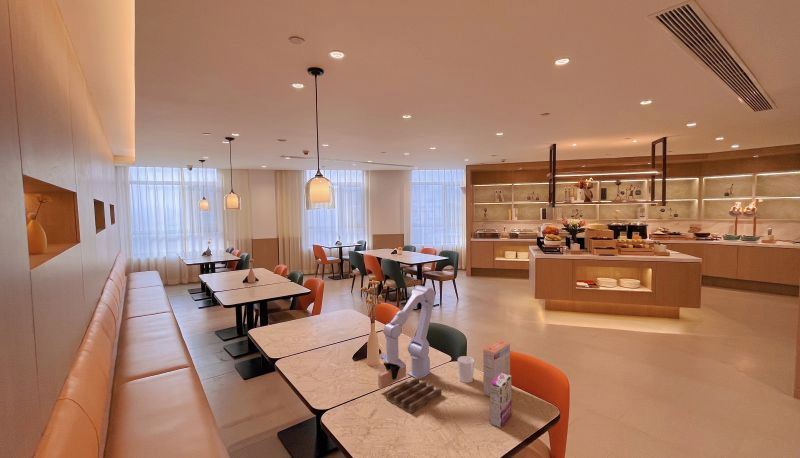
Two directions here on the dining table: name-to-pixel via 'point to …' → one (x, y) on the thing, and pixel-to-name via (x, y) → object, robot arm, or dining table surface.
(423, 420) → the dining table surface
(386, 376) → the clay strip
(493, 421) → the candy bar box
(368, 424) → the dining table surface
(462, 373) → the white cup
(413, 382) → the slatted brown panel
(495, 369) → the cracker box
